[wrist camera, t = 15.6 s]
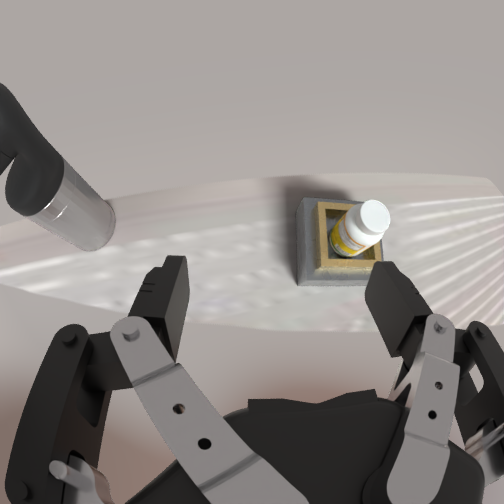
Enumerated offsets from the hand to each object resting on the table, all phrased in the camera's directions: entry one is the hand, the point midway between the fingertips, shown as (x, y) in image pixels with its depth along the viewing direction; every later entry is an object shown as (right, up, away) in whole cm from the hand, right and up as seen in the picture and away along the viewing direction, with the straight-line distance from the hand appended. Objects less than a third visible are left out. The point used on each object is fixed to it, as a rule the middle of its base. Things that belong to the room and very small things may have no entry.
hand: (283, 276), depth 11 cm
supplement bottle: (+12, +3, +27) cm, 29 cm away
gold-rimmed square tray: (+12, +2, +32) cm, 34 cm away
